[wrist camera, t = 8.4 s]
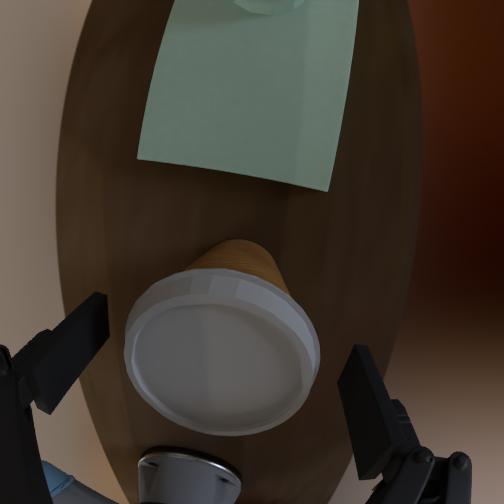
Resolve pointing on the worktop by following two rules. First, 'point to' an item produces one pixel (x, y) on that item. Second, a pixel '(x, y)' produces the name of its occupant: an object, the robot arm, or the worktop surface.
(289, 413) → the disposable coffee cup
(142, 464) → the robot arm
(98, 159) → the worktop surface
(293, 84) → the scale
